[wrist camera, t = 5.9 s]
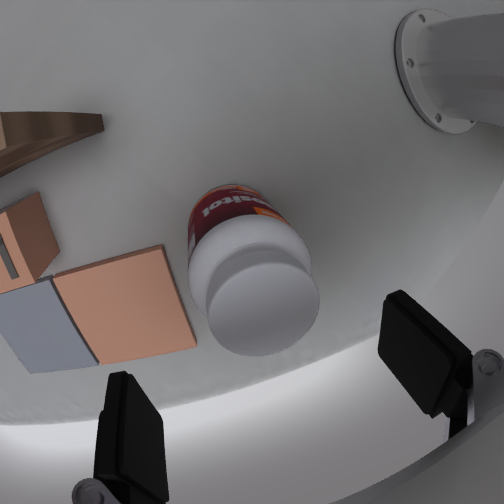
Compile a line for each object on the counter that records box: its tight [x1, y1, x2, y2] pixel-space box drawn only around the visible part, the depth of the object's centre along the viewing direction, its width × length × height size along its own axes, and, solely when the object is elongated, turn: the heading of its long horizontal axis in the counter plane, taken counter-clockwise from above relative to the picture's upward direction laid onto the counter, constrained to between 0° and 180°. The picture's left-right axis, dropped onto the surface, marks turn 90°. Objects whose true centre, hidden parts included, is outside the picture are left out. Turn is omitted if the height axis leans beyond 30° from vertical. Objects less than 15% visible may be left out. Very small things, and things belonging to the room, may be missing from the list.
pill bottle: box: [188, 185, 320, 356], centre depth 17 cm, size 6×6×11 cm
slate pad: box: [0, 275, 99, 374], centre depth 21 cm, size 10×10×1 cm
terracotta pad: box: [53, 245, 197, 365], centre depth 22 cm, size 10×10×1 cm
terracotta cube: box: [0, 192, 60, 294], centre depth 16 cm, size 5×5×5 cm
